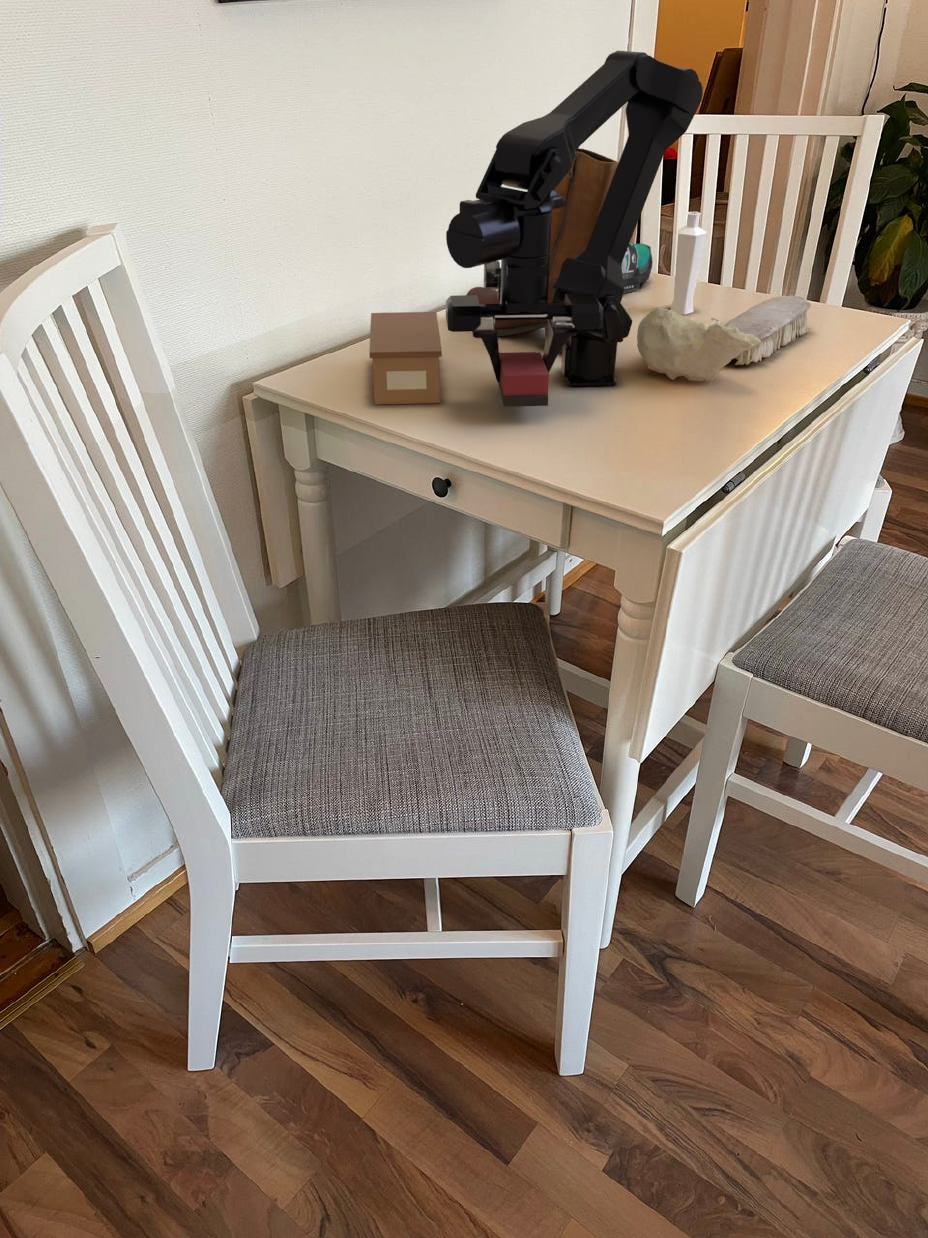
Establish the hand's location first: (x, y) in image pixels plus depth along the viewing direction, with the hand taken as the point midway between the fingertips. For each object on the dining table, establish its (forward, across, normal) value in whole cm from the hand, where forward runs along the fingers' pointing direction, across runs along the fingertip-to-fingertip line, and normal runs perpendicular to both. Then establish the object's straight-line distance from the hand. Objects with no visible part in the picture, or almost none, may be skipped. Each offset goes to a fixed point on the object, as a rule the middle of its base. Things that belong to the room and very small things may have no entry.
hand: (520, 380), depth 122 cm
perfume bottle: (+4, -31, -38) cm, 49 cm away
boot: (+4, -5, -27) cm, 28 cm away
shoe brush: (+4, -38, -21) cm, 44 cm away
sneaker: (+4, -21, -51) cm, 55 cm away
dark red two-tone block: (+1, 0, 0) cm, 1 cm away
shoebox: (+3, +14, -9) cm, 17 cm away
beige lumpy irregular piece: (+4, -26, -9) cm, 27 cm away
